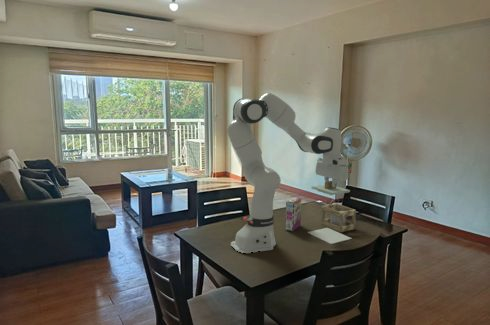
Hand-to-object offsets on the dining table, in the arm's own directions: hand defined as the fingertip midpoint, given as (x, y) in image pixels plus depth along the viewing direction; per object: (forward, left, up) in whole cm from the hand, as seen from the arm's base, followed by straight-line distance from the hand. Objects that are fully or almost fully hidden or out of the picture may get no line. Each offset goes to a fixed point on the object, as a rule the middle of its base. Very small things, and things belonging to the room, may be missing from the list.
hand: (330, 186), depth 171 cm
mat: (0, 0, -27) cm, 27 cm away
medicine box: (+14, +8, -27) cm, 31 cm away
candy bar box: (-9, +19, -27) cm, 34 cm away
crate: (+14, +8, -27) cm, 31 cm away
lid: (0, 0, -2) cm, 2 cm away
